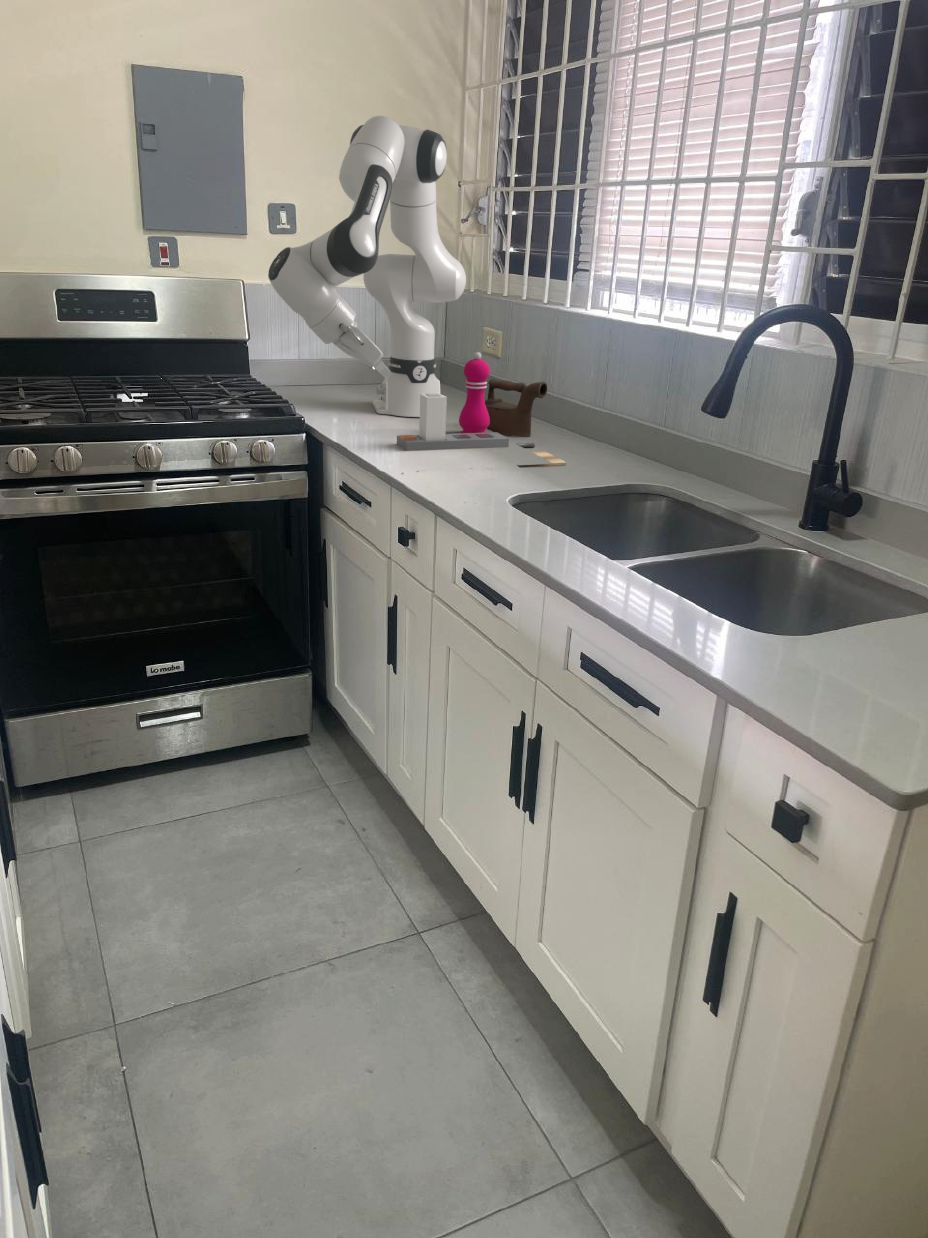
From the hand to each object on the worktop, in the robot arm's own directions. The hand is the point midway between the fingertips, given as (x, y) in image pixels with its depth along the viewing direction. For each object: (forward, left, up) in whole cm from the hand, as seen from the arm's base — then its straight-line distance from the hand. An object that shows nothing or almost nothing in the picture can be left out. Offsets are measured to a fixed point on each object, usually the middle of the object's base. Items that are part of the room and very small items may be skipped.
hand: (380, 371), depth 196 cm
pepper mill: (-10, +26, -18) cm, 33 cm away
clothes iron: (-16, +38, -18) cm, 45 cm away
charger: (0, +12, -16) cm, 20 cm away
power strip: (0, +21, -17) cm, 27 cm away
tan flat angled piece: (+12, +31, -17) cm, 37 cm away
